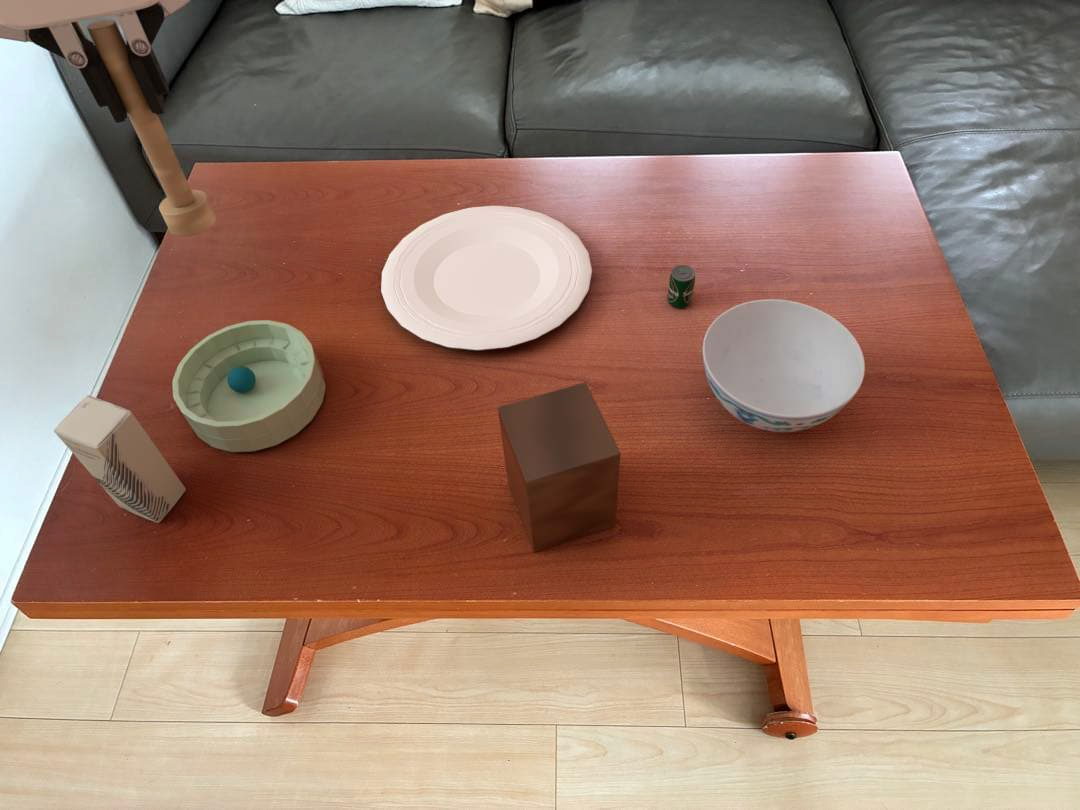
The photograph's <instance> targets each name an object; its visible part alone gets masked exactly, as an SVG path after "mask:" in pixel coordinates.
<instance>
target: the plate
mask: <svg viewBox="0 0 1080 810" xmlns="http://www.w3.org/2000/svg"><path fill="white" fill-rule="evenodd" d="M592 274H593V269H592V263H591V259H590V254H589V251H588V249H586V246H585V245H584V244H583V241H582V240H581V239H580V237H579V235H577V234H576V233H575V232H573V230H571V229H570V228H569V227H568V226H566V225H565V224H564V223H563V222H561V221H559V220H557V219H555V218H553V217H551V216H549V215H547V214H545V213H542V212H540V211H535V210H531V209H527V208H524V207H518V206H508V205H507V206H505V205H484V206H483V205H482V206H475V207H467V208H463V209H458V210H455V211H451V212H448V213H443V214H442V215H439V216H437V217H435V218H433V219H431V220H429V221H426V222H424V223H422V224H421V225H419V226H418V227H416V228H414V229H413V230H412V231H411V232H410V233H408V234H407V235H405V236H404V237H403V238H402V239H400V241H399V242H398V244H397V245H395V247H394V248H393V250H392V251H391V252H390V253H389V255H388V258H387V260H386V262H385V264H384V267H383V269H382V271H381V284H380V285H381V287H380V293H381V295H382V297H383V301H384V303H385V306H386V309H387V311H388V313H389V314H390V315H391V316H392V317H393V318H394V320H396V322H397V324H399V325H400V327H401V328H402V329H405V330H406V331H408V332H409V333H411V334H413V335H414V336H415V337H417V338H419V339H420V340H422V341H426V342H427V343H430V344H434V345H437V346H440V347H444V348H446V349H454V350H463V351H473V352H480V351H481V352H483V351H491V350H492V351H493V350H503V349H510V348H512V347H516V346H520V345H523V344H526V343H529V342H532V341H535V340H538V339H539V338H541V337H543V336H545V335H546V334H548V333H550V332H552V331H554V330H556V329H557V328H559V327H561V325H563V324H564V323H565V322H566V321H567V320H568V319H569V318H571V316H572V315H574V314H575V313H576V312H577V311H578V310H579V308H580V306H581V305H582V303H583V301H584V300H585V298H586V296H587V294H588V293H589V291H590V285H591V279H592Z"/></svg>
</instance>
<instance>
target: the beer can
mask: <svg viewBox="0 0 1080 810" xmlns="http://www.w3.org/2000/svg"><path fill="white" fill-rule="evenodd" d="M668 281H669V282H668V290H667V298H666V300H667V303H668V304H669V305H670V307H673V308H676V309H685V308H687V307H689V306H690V305H691V304H692V301H693V295H694V289H695V284H696V271H695V270H694V268H693V267H691V266H689V265H687V264H679V265H676V266H674V267H673V268H672V269H671V272H670V275H669V280H668Z"/></svg>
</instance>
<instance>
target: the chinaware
mask: <svg viewBox="0 0 1080 810" xmlns="http://www.w3.org/2000/svg"><path fill="white" fill-rule="evenodd" d="M702 362H703V368H704V373H705V376H706V379H707V383H708V385H709V387H710V389H711V391H712V393H713V395H714V396H715V398H716V400H717V401H718V402H719V403H720V405H721V406H722V407H723V408H724V409H725V410H726V411H727V412H728V413H729V414H731V415H732V416H733V417H734V418H736V419H737V420H739V421H740V422H742V423H743V424H746V425H748V426H750V427H753V428H756V429H759V430H762V431H766V432H772V433H773V432H774V433H793V432H794V433H795V432H800V431H804V430H808V429H812V428H814V427H816V426H819V425H820V424H823V423H825V422H827V421H828V420H830V419H831V418H833V417H834V416H836V414H838V413H839V412H840V411H841V410H843V409H844V408H845V407H846V406H847V405H848V404H849V403H850V401H851V400H853V398H854V397H855V396H856V395H857V393H858V392H859V390H860V388H861V386H862V384H863V381H864V379H865V378H864V377H865V371H866V364H865V357H864V353H863V351H862V348H861V346H860V344H859V342H858V340H856V338H855V337H854V334H852V333H851V332H850V330H849V329H848V328H847V327H846V326H845V325H844V324H842V323H841V322H840V321H839V320H838V319H836V318H835V317H833V316H831V315H830V314H828V313H827V312H825V311H823V310H820V309H819V308H816V307H814V306H811V305H809V304H805V303H801V302H798V301H794V300H787V299H777V298H776V299H775V298H767V299H766V298H765V299H756V300H751V301H745V302H743V303H740V304H737V305H734V306H732V307H731V308H728V309H727V310H725V311H723V312H722V313H721V314H719V315H718V316H717V317H716V318H715V319H714V320H713V322H711V324H710V325H709V326H708V328H707V330H706V332H705V335H704V338H703V342H702Z"/></svg>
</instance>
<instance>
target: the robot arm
mask: <svg viewBox="0 0 1080 810" xmlns="http://www.w3.org/2000/svg"><path fill="white" fill-rule="evenodd" d="M190 2H191V0H0V39H3V40H10V41H16V42H21V43H22V42H23V43H33V44H35V45H36V46H37V47H40V48H42V49H44V50H46V51H48V52H50V53H52V54H54V55H57V56H58V57H60V58H62V59H65V60H66V62H67V63H68V64H69V66H71V67H72V68H74V69H78V70H79V72H80V73H81V75H82V77H83V79H84V81H85V83H86V85H87V87H88V89H89V91H90V93H91V95H92V96H93V98H94V100H95V102H96V104H97V105H98V107H99V108H103V107H107V108H108V111H109V112H110V115H111V116H112V118H113V120H114V122H115V123H116V124H118V123H123V122H126V120H127V119H128V114H127V111H126V109H125V107H124V105H123V103H122V101H121V99H120V97H119V95H118V92H117V90H116V88H115V86H114V84H113V82H112V80H111V78H110V76H109V74H108V71H107V69H106V67H105V65H104V63H103V61H102V59H101V57H100V55H99V53H98V51H97V49H96V46H95V44H94V42H93V41H91V40H89V38H88V35H87V34H86V32H85V30H84V28H83V26H82V24H81V22H82V21H86V20H92V19H98V18H105V17H109V16H114V15H115V17H116V20H117V21H118V24H119V27H120V28H121V30H122V33H123V35H124V37H125V39H126V40H125V43H126V46H127V49H128V62H129V65H130V67H131V69H132V71H133V74H134V76H135V78H136V80H137V82H138V84H139V86H140V88H141V90H142V92H143V95H144V97H145V99H146V101H147V103H148V105H149V107H150V109H151V111H152V113H156V115H162V114H165V102H164V95H168V94H170V88H169V84H168V81H167V78H166V77H165V74H164V71H163V69H162V67H161V64H160V63H159V60H158V59H157V56H156V53H155V52H154V49H153V47H152V45H153V43H154V42H155V40H156V38H157V35H158V33H159V31H160V30H161V28H162V25H163V24H164V21H165V19H167V18H168V17H170V16H172V15H173V14H175V13H176V12H178V11H179V10H181V9H183V8H184V7H185V6H187V5H188V4H189V3H190Z"/></svg>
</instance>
